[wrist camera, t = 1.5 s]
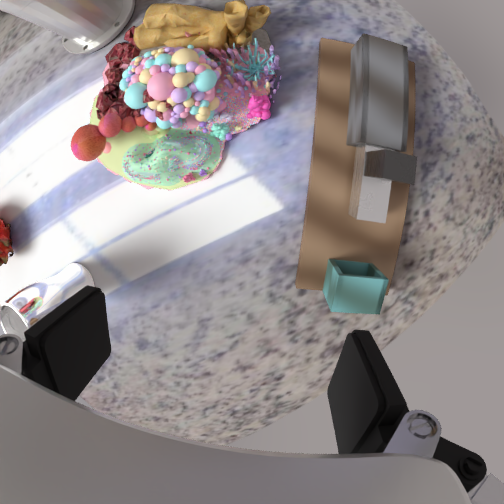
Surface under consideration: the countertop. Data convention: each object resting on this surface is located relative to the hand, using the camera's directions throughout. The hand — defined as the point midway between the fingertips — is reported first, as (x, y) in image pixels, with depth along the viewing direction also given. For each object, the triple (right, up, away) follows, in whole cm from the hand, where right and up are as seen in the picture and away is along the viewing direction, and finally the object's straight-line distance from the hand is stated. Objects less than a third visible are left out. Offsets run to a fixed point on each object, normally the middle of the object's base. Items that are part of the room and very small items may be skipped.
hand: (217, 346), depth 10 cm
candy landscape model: (-8, +23, +19) cm, 31 cm away
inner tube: (+14, +16, +17) cm, 27 cm away
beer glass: (-25, -1, +27) cm, 37 cm away
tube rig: (+14, +13, +20) cm, 28 cm away
